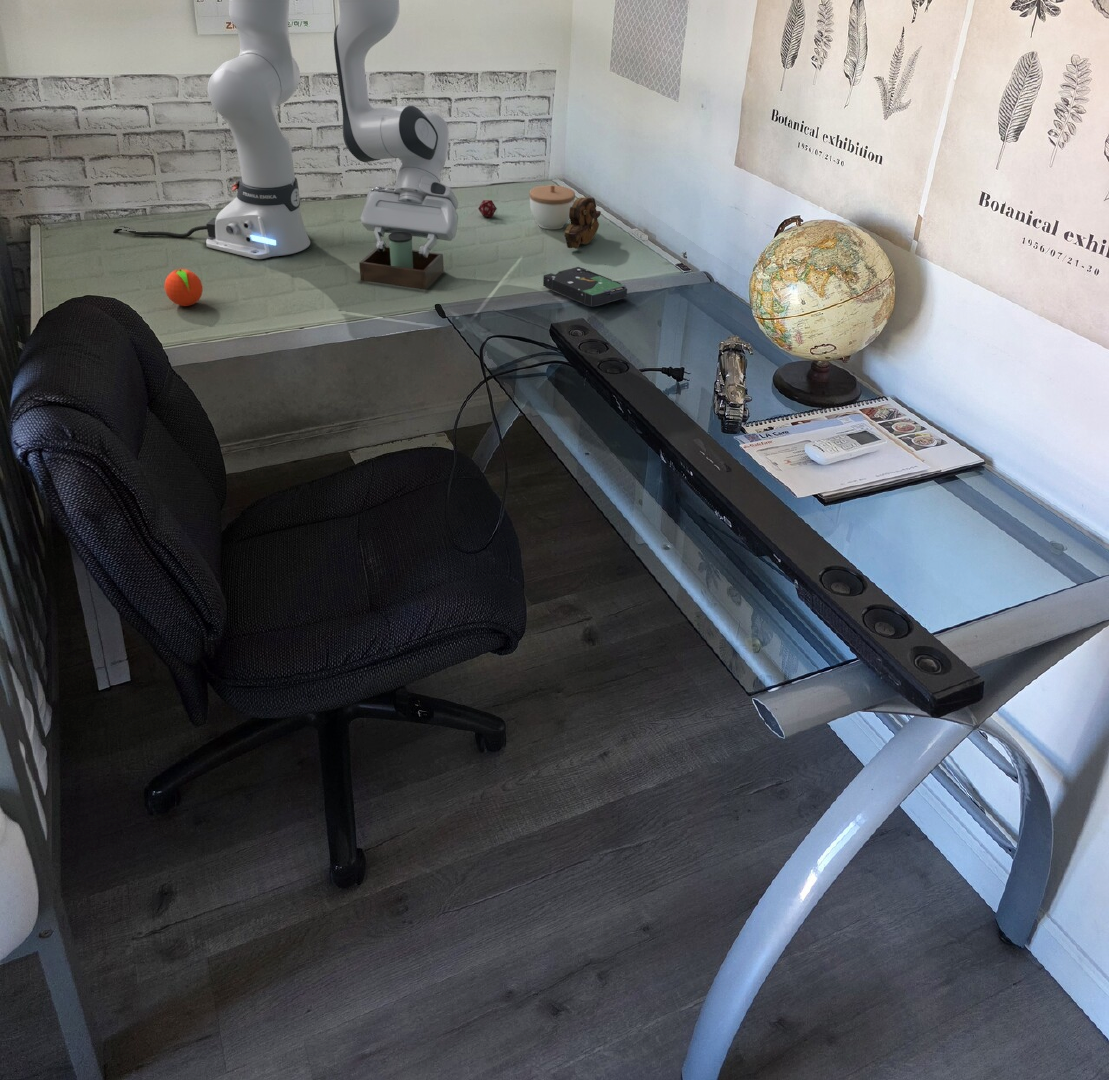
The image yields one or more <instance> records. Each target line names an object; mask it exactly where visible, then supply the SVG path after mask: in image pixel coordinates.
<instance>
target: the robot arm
mask: <svg viewBox="0 0 1109 1080" xmlns="http://www.w3.org/2000/svg"><path fill="white" fill-rule="evenodd" d="M338 6H339V18H338V24H337V25H336V26H335V28H334V31H333V48H334V49H333V51H334V59H335V65H336V66H335V67H336V72H337V73H336V74H337V79H338V87H339V95H340V101H341V110H342V137H343V138H342V139H343V142H344V144H345V147H346V148H347V150H348V152H349V153H350V154H351V155H352V156H353V157H354V158H355V159H357V160H358V161H359V162H362V163H369V162H375V161H380V160H388V159H389V160H390V159H398V160H400V161H401V166H400V167H399V170H398V173H397V176H396V177H397V178H396V182H395V185H394V188H393V187H382V186H375V188H372V189H369V191H368V192H367V195H366V198H365V203H364V206H363V208H362V211H361V214H360V218H359V220H360V222H361V225H362V226H363V227H364V229H365V230H367V231H370V232H374V236H375V239H376V245H375V249H377V251H380V252H385V248H386V246H387V243H386V242H385V241H384V240H382V238H383V237H385V234H391V233H395V232H407V233H410V234H411V235H412V237H417V238H425V239H427V242H426V243H425V244H424V245H420V246H419V250H418V251H419V255H420V257H425V258H427V257H428V254H429V252H430V251H431V250H432V249H433V248H434V247H435V246H436V245H437V242H438V240H440V241H447V242H451V241H452V240H453V239H455V238H456V236H457V231H458V225H459V224H458V223H459V214H458V212H457V209H458V207H459V201H458V198H457V196H456V194H455V192H454V191H453V189H452V188H451V187H450V186H448V185H446V184H444V183H442V182H441V173H442V171H443V169H444V167H445V164H446V161H447V155H448V151H449V145H450V144H449V143H450V129H449V125H448V123H447V122H446V120H445V119H444V118H443V117H442V116H441V115H439V114H438V113H435V112H433V111H430V110H423V111H422V110H420V109H419V108H418V107H417V106H414V105H395V106H394V105H393V106H388V107H387V106H386V107H377V108H376V107H375V108H374V107H373V106H372V105H371V103H370V99H369V92H368V91H369V90H368V84H367V76H366V67H365V62H366V57H367V55H368V53H369V51H370V50H371V49H372V48H373V47H374V46H376V44H378V43H379V42H380V41H382V40H383V39H384V38H386V37H387V36H388V35H389V34H390V33H391V32H392V31H393V29H394V28H395V26H396V25H397V22H398V20H399V17H400V0H338ZM289 12H290V0H228V17H229V20H230V22H232V24H233V25H234V26H235V28H236V31H237V35H238V41H239V53H238V56H237V57H234V58H231V59H229V60H227V61H224V62H223V63H221V65H220V66H219V67H218V68H217V69H215V71H214V72H213V73H212V74H211V76H210V77H209V79H208V82H207V95H208V99H209V101H210V104H211V105H212V107H213V109H215V111H216V113H218V114H219V115H220V116H222V118H224V120H225V121H226V123H227V125H228V127H229V130H230V132H231V134H232V137H233V140H234V144H235V147H236V151H237V157H238V164H239V169H240V175H241V179H239V180H237V181H236V183H234V184H232V185H231V187H232V189H231V190H232V192H234V191H236V190H237V193H236V197H235V198H234V199H232V200H231V201H230V202H229V203H228V204H227V205H226V206H224V207H223V208H222V209H221V210H220V211H219V212H218V213H217V215H216V217H212V218H211V219H210V220H209V221H207V223H206V225H199V226H195V227H192V228H190V229H189V230H188V231H187V232H184V233H176V232H169V231H149V230H147V231H148V232H136V231H127V230H124V231H125V232H128V233H131V234H134V235H137V236H163V237H164V236H165V237H172V238H179V239H183V238H188V237H190V236H192V234H194V233H196V232H198V231H204V230H206V231H207V238H206V247H207V248H209V249H214V250H217V251H222V252H226V253H230V254H235V255H238V256H243V257H246V258H251V259H254V260H263V259H268V258H271V257H279V256H288V255H294V254H296V253H299V252H302V251H304V250H306V249H307V248H309V246H310V245H311V240H310V238H309V235H308V233H307V230H306V227H305V224H304V219H303V216H302V211H301V207H300V206H301V199H300V189H299V182H298V178H297V177H296V175H295V167H294V159H293V157H294V156H293V150H292V148H293V147H292V144H291V141H290V139H289V137H288V136H287V135H286V134H284V133H283V131H282V129H281V127H280V124H279V121H278V118H277V115H276V108H277V107H278V106H281V105H282V104H284V103H286V102H287V101H289V99H291V97H292V96H293V95H294V93H295V92H296V91H297V90H298V87H299V85H300V81H301V71H300V68H299V64H298V63H297V61H296V59H295V58H294V56H293V53H292V46H291V41H290V31H289V14H290V13H289ZM118 227H124V228H129V229H130V227H128V226H125V225H124V226H123V225H121V226H118ZM120 231H123V230H122V229H116V228H114V229H113V231H112V233H113V234H117V233H119V232H120Z"/></svg>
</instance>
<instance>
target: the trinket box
mask: <svg viewBox="0 0 1109 1080" xmlns="http://www.w3.org/2000/svg"><path fill="white" fill-rule="evenodd" d="M575 200H576V192H575V191H574V190H573V189H571V188H569V187H566V186H561V185H555V184H549V185H547V184H546V185H539V186H536V187H533V188H531V189H530V190H529V207H530V208H529V209H530V213H531V216H532V218H533V220H534V221H535V222H536V223H537V224H538V226H539V227H540V228H541V229H545V230H560V229H562V228H564V226H565V225H566V224H567V223H568V222H569V221H570V218H569V212H570V207H572V205H573V203H574V201H575Z"/></svg>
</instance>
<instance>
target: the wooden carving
mask: <svg viewBox="0 0 1109 1080" xmlns="http://www.w3.org/2000/svg"><path fill="white" fill-rule="evenodd" d="M601 215H602V211H601V210H597V203H596V199H595V198H594V197H589V196H585V197H582V196H581V197H577V198H575V199H574V203H573V205H572V207H570V212H569V218H570V219H569V221H570V224H568V225H567V226H566V228H565V230H564V234H563V235H564V238H565V242H566V248H568V249H578V248H579V246H580V245H587V244H589V243H590V242H591V241H593V239H594V238H595V236H596V234H597V232H598V230H599V226H600V223H599V221H598V218H600V217H601Z"/></svg>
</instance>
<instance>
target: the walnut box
mask: <svg viewBox="0 0 1109 1080" xmlns="http://www.w3.org/2000/svg"><path fill="white" fill-rule="evenodd" d="M419 251H420V250H416V249H412V252H413V269H410V268H403V267H396V266H391V259H390V246H386V248H385V252H380V251H377V249H376V248H374V249H373V250H372V251H371V252H370V253H369V254H368V255H366V256H365V257H364V258H363V259H362V260H360V261H359V262H358V264H359V265H358V266H359V275H360V281H361V282H367V283H376V284H381V285H389V286H395V287H403V288H411V289H416V290H423V291H427V290H428V289H429V288H430V287H431V286H432V285H433V283H434V282H435V281H436V280H437V279H438V278H439V277H440V276H441V275H442V274H443V273H444V254H443V253H438V252H430V251H429V254H428V257H427V258H425V257H420V255H419Z"/></svg>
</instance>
